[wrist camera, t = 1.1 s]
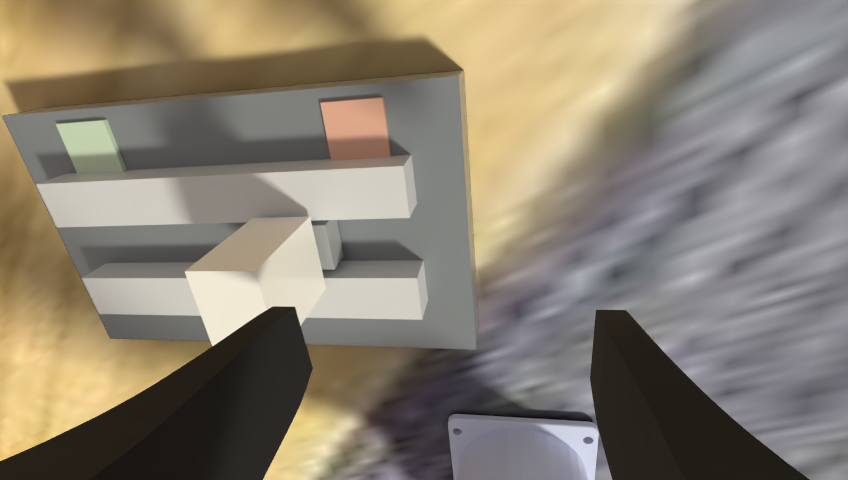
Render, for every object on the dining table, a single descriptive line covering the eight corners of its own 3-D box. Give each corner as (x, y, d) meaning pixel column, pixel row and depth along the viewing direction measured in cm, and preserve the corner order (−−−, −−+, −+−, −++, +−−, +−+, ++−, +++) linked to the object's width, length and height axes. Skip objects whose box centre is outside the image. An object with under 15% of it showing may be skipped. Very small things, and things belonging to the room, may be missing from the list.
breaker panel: (463, 69, 18) (453, 81, 14) (478, 323, 23) (473, 372, 20) (43, 107, 21) (-35, 123, 18) (136, 317, 27) (87, 356, 23)
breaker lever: (332, 200, 19) (263, 270, 13) (346, 267, 20) (288, 356, 15) (266, 202, 19) (176, 271, 14) (284, 268, 21) (207, 353, 15)
